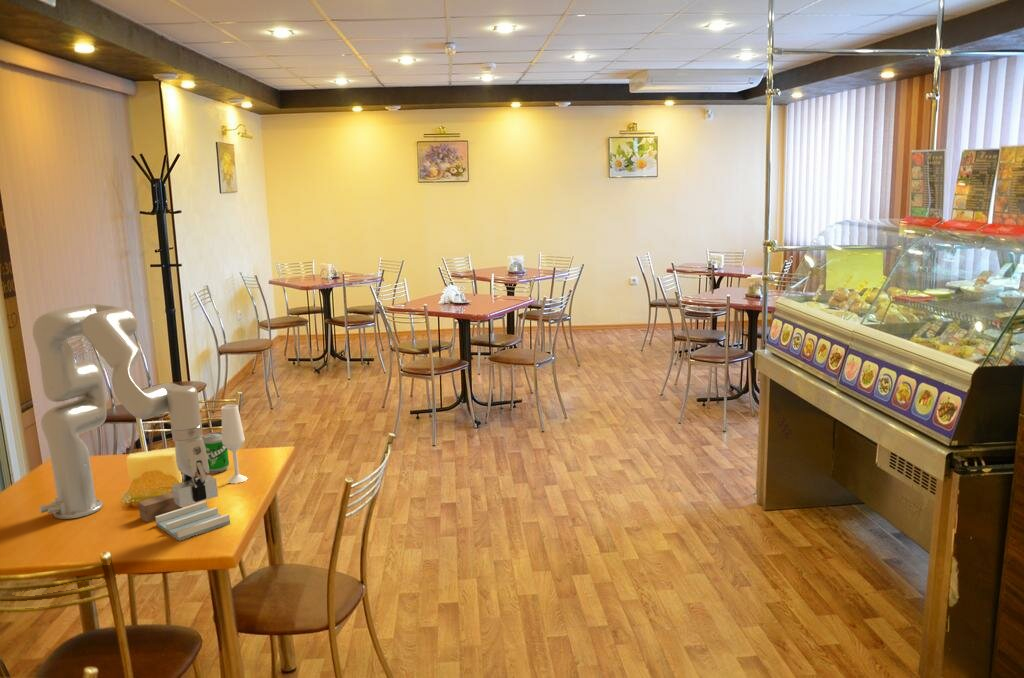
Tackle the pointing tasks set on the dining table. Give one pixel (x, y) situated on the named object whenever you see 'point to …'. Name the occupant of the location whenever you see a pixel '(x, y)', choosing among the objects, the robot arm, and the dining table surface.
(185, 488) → the grey metal bar
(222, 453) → the soda can
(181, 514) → the rack
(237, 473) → the champagne flute
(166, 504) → the walnut bar
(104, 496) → the dining table surface
